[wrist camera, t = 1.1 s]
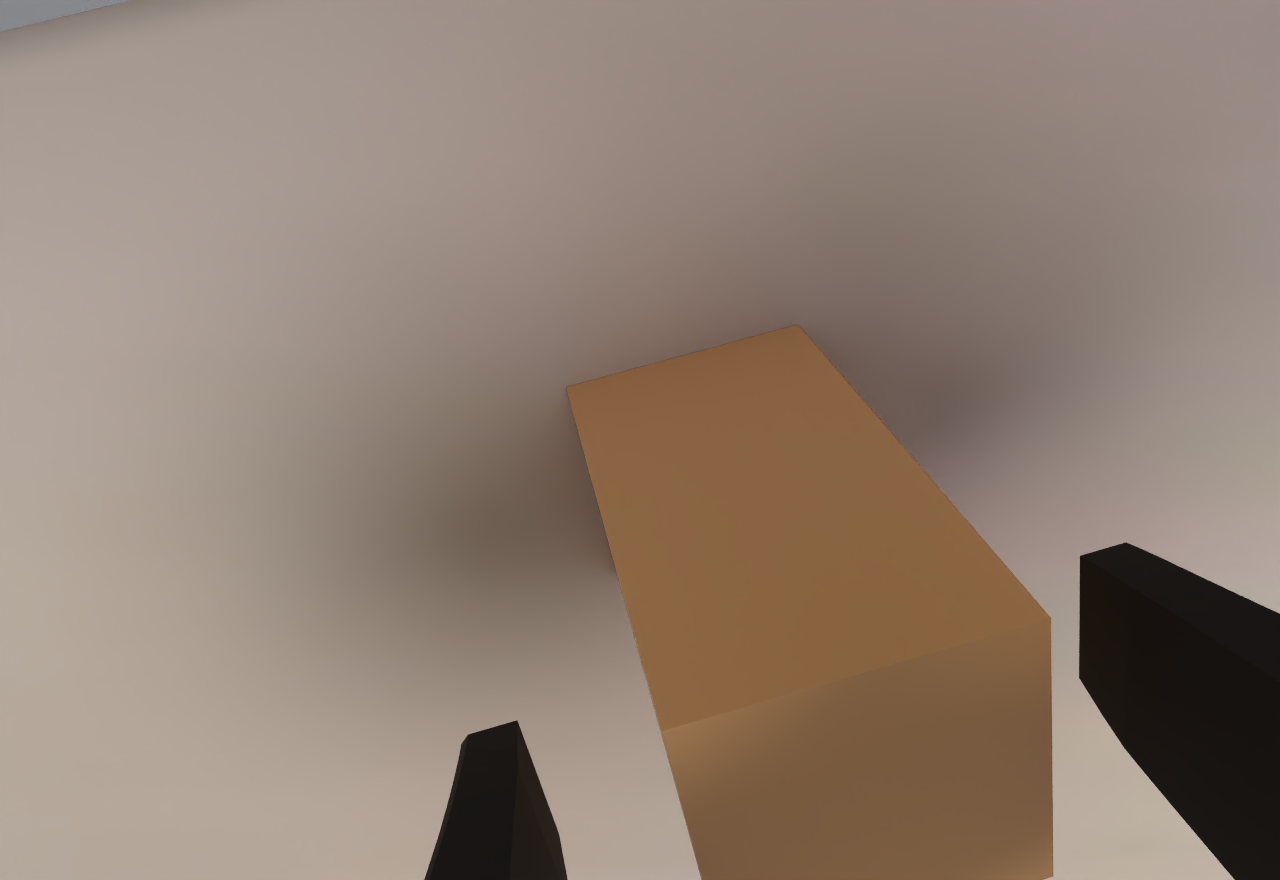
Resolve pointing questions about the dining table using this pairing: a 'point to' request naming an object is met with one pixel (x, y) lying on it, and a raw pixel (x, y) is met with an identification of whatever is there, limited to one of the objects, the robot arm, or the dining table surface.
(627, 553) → the plug
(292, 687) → the dining table surface
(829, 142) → the dining table surface
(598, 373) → the dining table surface
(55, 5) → the socket plate
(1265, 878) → the robot arm
